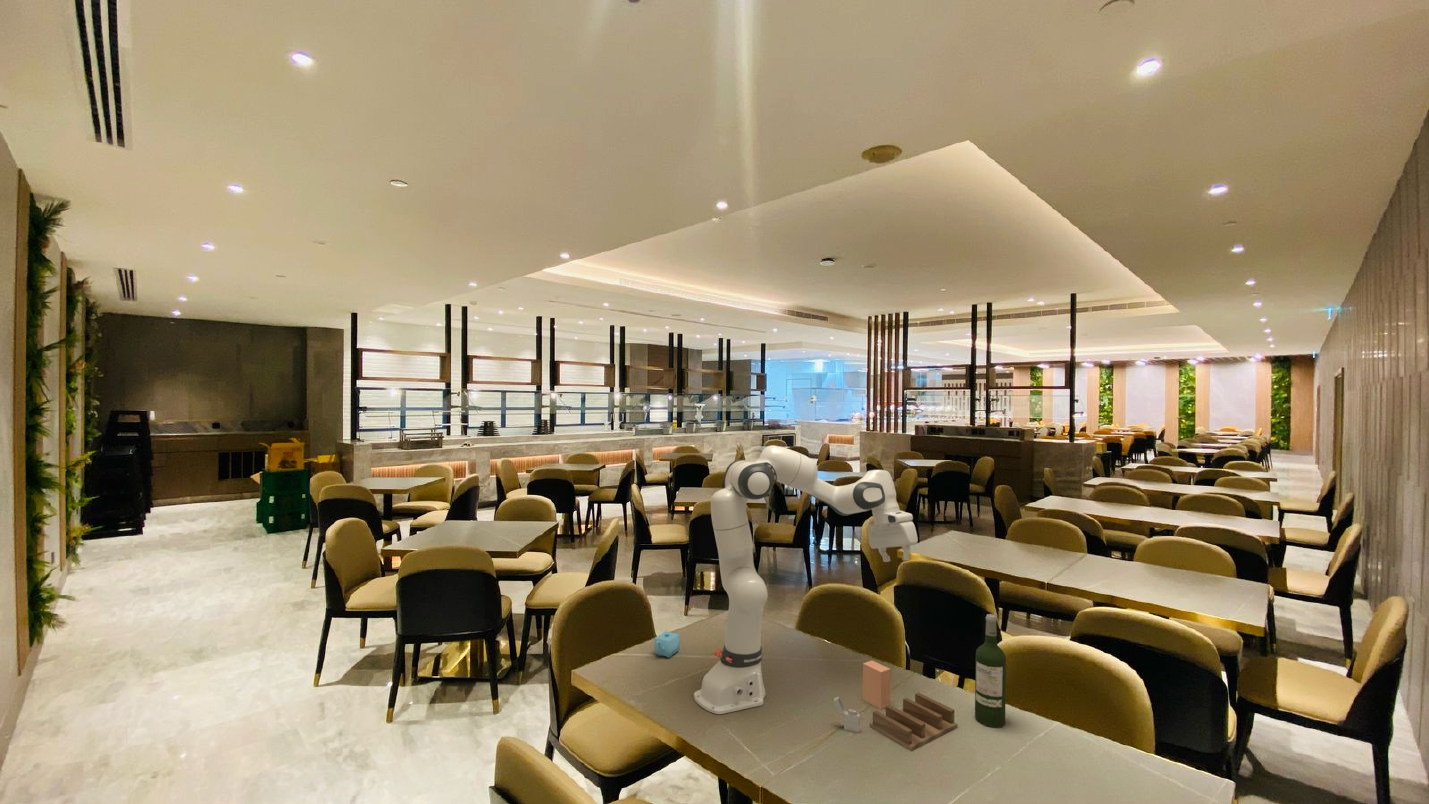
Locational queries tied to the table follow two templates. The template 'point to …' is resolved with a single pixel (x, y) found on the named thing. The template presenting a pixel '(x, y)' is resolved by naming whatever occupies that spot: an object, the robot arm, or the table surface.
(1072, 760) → the table surface
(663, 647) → the light blue toy brick
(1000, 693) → the wine bottle
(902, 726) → the rack
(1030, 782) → the table surface
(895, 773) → the table surface
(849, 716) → the lighter
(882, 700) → the salmon rectangular prism
